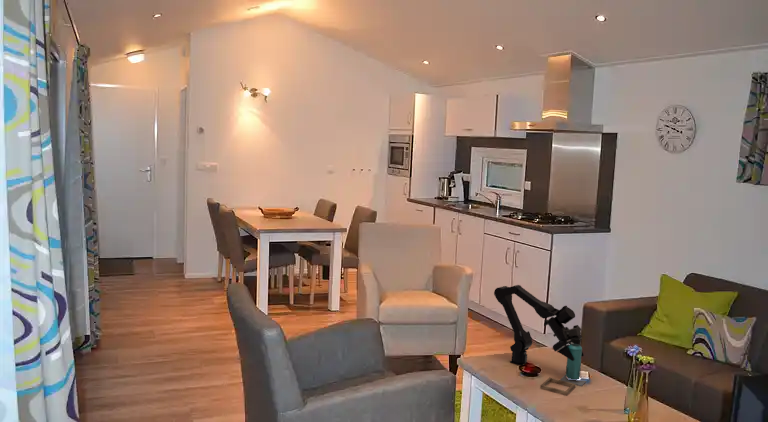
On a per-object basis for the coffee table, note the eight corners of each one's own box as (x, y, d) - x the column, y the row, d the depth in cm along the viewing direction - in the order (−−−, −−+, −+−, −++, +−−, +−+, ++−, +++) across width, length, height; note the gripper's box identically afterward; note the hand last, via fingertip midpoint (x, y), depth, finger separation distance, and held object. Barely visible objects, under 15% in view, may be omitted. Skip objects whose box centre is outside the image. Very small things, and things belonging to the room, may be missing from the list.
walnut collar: (540, 388, 289) (540, 385, 289) (549, 380, 299) (549, 377, 299) (566, 395, 283) (567, 392, 283) (575, 387, 293) (575, 384, 293)
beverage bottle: (582, 381, 299) (586, 339, 296) (571, 383, 296) (575, 340, 293) (573, 376, 305) (577, 335, 302) (561, 377, 302) (565, 336, 299)
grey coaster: (559, 380, 300) (559, 379, 300) (566, 374, 308) (566, 373, 308) (581, 386, 294) (581, 385, 294) (587, 380, 303) (588, 378, 303)
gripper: (561, 323, 294) (581, 354, 288) (580, 316, 307) (600, 345, 301) (544, 336, 300) (563, 366, 294) (563, 328, 314) (582, 357, 308)
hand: (578, 358), depth 299 cm, fingers open, 9 cm apart
